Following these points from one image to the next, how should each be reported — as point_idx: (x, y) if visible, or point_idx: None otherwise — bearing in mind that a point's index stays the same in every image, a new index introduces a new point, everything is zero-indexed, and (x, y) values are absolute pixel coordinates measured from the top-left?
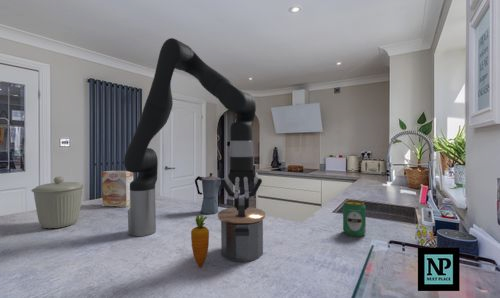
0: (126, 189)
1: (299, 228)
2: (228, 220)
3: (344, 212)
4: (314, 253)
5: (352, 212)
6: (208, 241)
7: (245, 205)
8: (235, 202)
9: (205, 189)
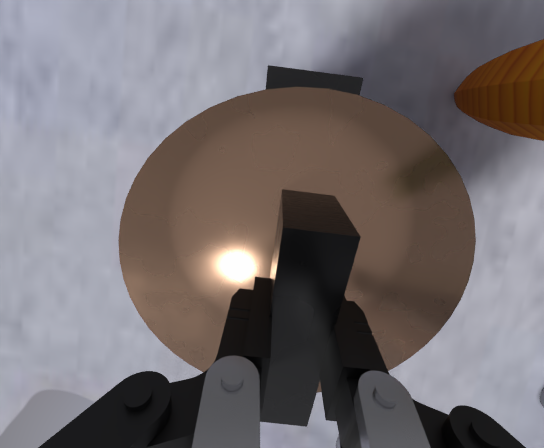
0: None
1: (65, 343)
2: (426, 138)
3: None
4: (15, 140)
5: None
6: (505, 80)
7: (263, 299)
8: (363, 341)
9: None
